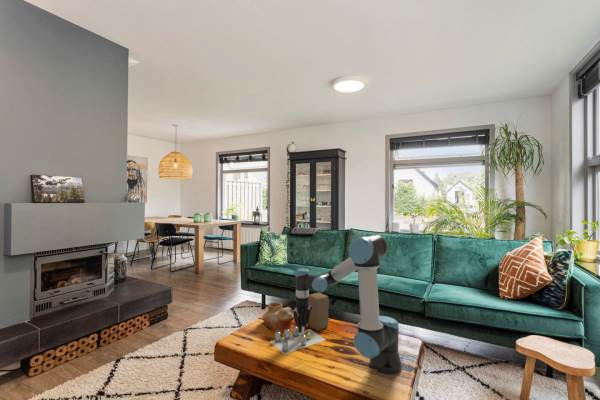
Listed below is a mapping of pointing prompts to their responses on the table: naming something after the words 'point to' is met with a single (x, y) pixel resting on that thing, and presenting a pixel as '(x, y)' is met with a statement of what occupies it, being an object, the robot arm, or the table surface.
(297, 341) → the board
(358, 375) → the table surface
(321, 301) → the wooden block
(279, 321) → the ceramic vessel
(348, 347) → the table surface
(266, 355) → the table surface
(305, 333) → the brass round knob
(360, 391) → the table surface
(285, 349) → the spacers
